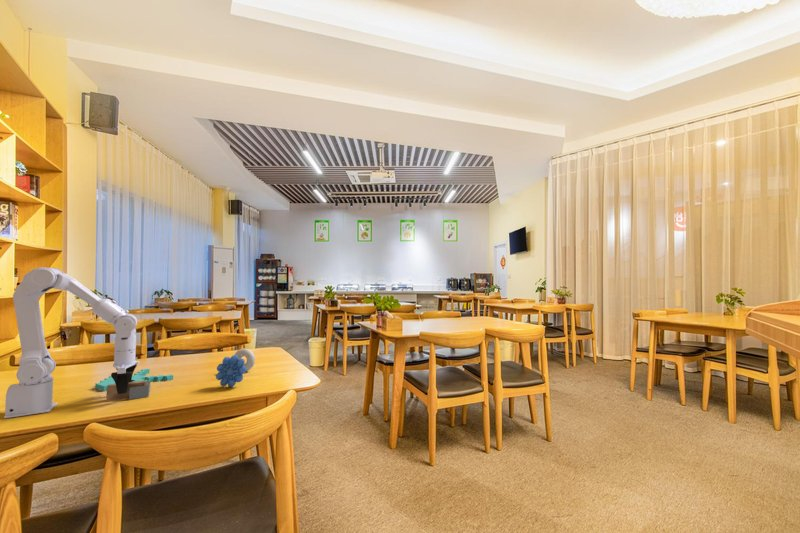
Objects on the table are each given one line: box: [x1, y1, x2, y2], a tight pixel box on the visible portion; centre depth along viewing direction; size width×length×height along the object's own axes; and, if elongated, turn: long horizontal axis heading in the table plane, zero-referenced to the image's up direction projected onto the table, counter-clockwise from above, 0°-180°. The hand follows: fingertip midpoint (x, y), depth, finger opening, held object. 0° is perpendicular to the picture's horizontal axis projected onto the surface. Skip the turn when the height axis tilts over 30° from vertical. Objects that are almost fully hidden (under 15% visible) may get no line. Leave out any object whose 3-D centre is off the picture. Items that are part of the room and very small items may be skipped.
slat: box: [106, 380, 145, 402], centre depth 116 cm, size 10×2×5 cm, turn 122°
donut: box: [234, 347, 256, 372], centre depth 149 cm, size 10×3×10 cm, turn 80°
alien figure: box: [94, 368, 174, 392], centre depth 132 cm, size 20×2×20 cm
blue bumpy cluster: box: [215, 354, 247, 388], centre depth 129 cm, size 12×7×12 cm, turn 87°
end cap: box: [128, 381, 151, 400], centre depth 118 cm, size 5×6×4 cm
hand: (123, 390), depth 115 cm, fingers open, 7 cm apart
